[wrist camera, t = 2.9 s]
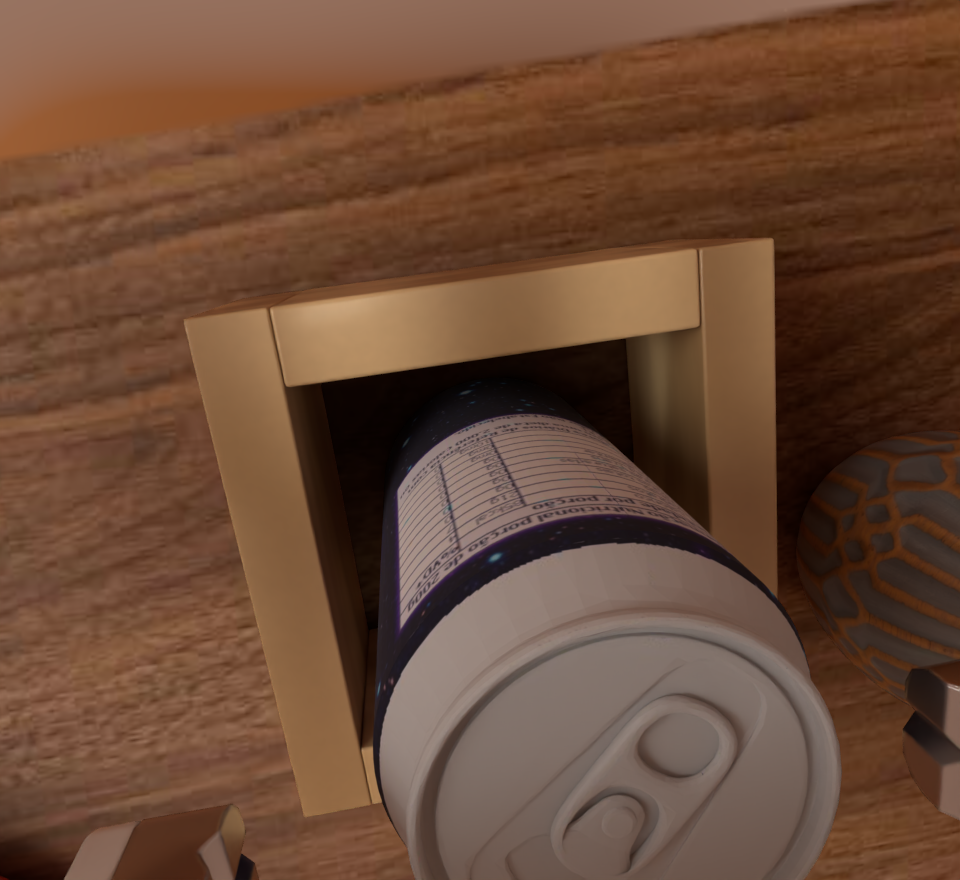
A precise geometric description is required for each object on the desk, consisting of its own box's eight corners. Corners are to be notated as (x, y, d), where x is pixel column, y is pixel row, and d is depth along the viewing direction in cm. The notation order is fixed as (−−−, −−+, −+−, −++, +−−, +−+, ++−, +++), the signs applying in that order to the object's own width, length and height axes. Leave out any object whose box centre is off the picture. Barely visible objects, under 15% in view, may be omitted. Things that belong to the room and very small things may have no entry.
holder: (675, 239, 18) (775, 237, 13) (693, 617, 21) (780, 726, 16) (241, 298, 17) (181, 318, 12) (325, 683, 20) (304, 818, 16)
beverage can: (344, 504, 19) (265, 908, 7) (463, 328, 18) (582, 477, 7) (514, 603, 20) (669, 1072, 9) (632, 444, 19) (976, 736, 8)
